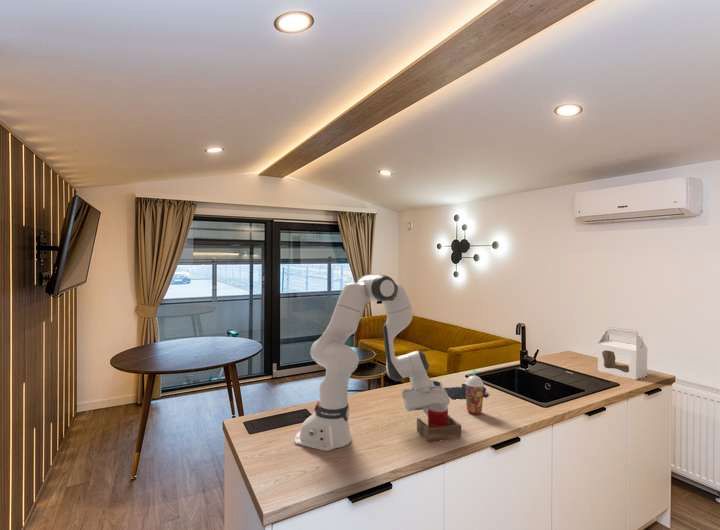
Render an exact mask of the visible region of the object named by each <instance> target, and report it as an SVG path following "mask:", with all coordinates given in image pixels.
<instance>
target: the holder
mask: <svg viewBox="0 0 720 530" xmlns="http://www.w3.org/2000/svg"><path fill="white" fill-rule="evenodd" d="M416 432H418V434H419V435H421V437H422V438H424V439H425V441H427V443H429V442H430V443H434V442H433V441H437V442H441V441H440V440H443V441H447V440H446V439H449V440H453V439H452V438H456V439H461V438H462V424H460V423H459V422H458V421H456V420H455V418H453V417H452V416H450V415H449V414H448V426H443V427H436V428H429V427H428V424H426V423H425V422H424V421H423V420H422V419H421V418H416ZM460 437H461V438H460Z"/></svg>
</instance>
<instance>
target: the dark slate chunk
mask: <svg viewBox="0 0 720 530" xmlns="http://www.w3.org/2000/svg"><path fill="white" fill-rule="evenodd" d="M443 388H444V389H445V391H446V392H447V394H448V397H449V399H452V400H454V401H455V400H456V399H460V400H466V387H465V383H462V384H461V386H455V387H443ZM486 392H487V388H486V387H485V386H484V387H483V397H485V398H489V395H488V394H487V393H486ZM486 394H487V395H486Z"/></svg>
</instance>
